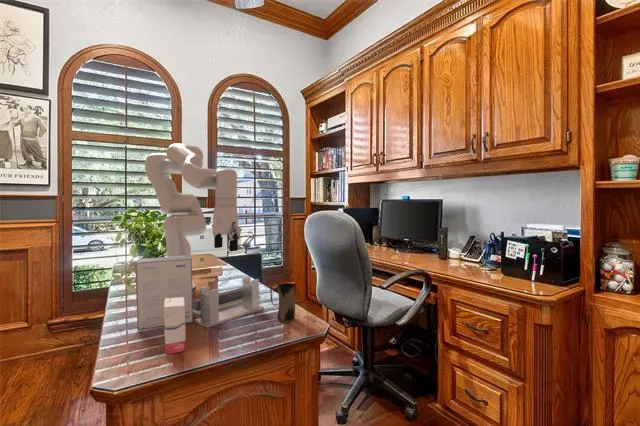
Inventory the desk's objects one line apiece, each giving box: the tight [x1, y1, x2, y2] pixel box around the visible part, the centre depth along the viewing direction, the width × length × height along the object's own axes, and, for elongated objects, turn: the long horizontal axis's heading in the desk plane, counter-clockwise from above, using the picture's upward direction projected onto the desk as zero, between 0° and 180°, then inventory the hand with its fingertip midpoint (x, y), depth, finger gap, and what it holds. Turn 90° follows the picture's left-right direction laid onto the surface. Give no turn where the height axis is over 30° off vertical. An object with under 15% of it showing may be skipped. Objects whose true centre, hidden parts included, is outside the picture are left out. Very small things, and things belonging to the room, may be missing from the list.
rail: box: [193, 286, 243, 311], centre depth 120 cm, size 3×24×3 cm, turn 141°
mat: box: [193, 295, 261, 316], centre depth 120 cm, size 8×26×1 cm, turn 141°
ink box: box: [163, 297, 187, 355], centre depth 85 cm, size 9×5×12 cm, turn 24°
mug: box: [269, 282, 296, 323], centre depth 103 cm, size 8×6×12 cm
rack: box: [194, 276, 265, 329], centre depth 107 cm, size 7×22×11 cm, turn 141°
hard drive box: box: [134, 254, 194, 330], centre depth 101 cm, size 16×8×20 cm, turn 111°
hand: (225, 249), depth 121 cm, fingers open, 9 cm apart
